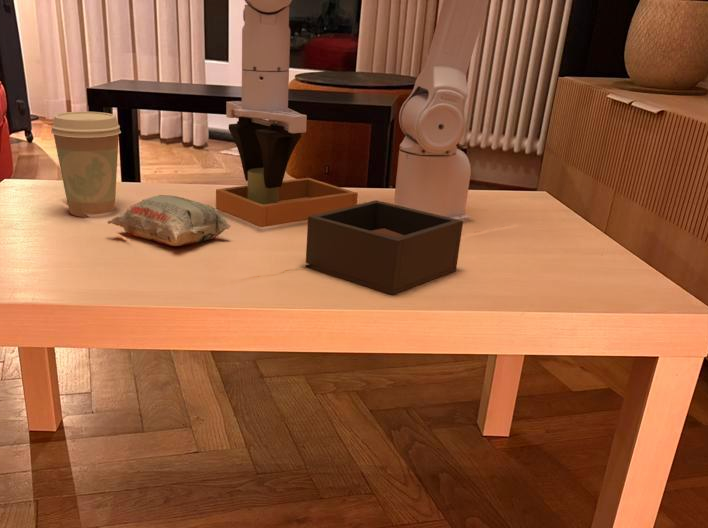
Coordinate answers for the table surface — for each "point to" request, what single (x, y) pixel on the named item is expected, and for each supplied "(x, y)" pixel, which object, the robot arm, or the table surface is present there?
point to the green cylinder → (260, 188)
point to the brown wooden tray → (285, 202)
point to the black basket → (383, 245)
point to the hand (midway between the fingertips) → (263, 183)
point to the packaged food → (171, 220)
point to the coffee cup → (87, 160)
